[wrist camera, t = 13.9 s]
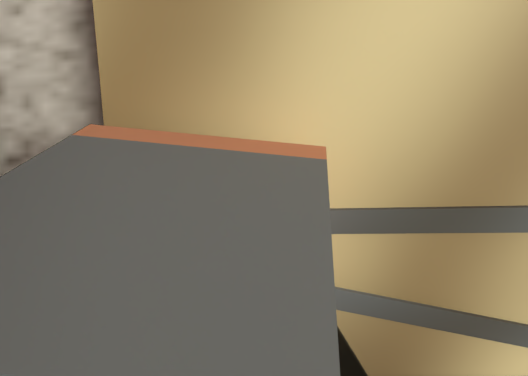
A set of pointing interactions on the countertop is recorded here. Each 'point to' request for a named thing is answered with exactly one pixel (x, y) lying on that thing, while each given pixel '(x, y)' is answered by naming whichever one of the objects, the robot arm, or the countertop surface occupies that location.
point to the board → (366, 149)
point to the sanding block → (167, 258)
